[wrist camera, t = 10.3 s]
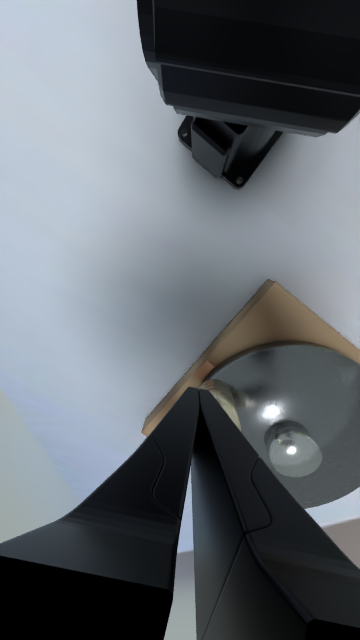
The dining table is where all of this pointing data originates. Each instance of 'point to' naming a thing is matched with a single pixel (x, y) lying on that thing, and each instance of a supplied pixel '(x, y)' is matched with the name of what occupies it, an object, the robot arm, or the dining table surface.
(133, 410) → the dining table surface
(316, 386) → the handwheel
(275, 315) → the wheel base
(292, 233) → the dining table surface
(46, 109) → the dining table surface
